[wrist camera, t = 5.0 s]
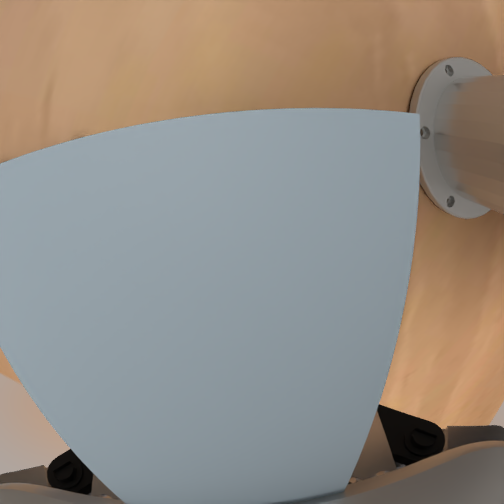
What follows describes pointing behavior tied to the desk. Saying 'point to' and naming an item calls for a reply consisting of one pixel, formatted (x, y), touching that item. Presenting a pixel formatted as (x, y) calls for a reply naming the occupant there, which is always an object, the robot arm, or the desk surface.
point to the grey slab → (212, 296)
